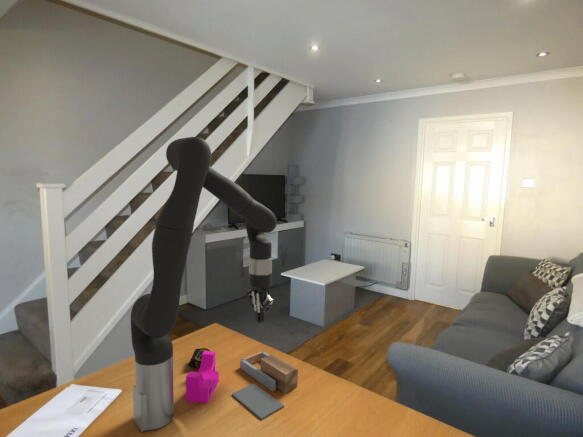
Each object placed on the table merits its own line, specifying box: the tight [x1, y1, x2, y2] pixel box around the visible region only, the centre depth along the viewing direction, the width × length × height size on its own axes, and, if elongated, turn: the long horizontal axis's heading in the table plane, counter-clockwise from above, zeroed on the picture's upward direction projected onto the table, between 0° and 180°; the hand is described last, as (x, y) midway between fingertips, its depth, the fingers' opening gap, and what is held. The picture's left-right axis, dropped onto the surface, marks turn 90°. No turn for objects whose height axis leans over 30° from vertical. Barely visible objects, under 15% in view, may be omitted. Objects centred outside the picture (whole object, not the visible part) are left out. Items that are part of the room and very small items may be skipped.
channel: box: [239, 350, 277, 392], centre depth 112 cm, size 10×17×3 cm, turn 43°
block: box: [259, 353, 299, 394], centre depth 108 cm, size 5×12×6 cm, turn 43°
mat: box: [231, 383, 285, 421], centre depth 98 cm, size 8×14×1 cm, turn 43°
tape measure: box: [187, 347, 211, 369], centre depth 116 cm, size 7×7×4 cm
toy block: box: [185, 350, 220, 404], centre depth 104 cm, size 15×6×8 cm, turn 175°
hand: (259, 322), depth 114 cm, fingers closed
